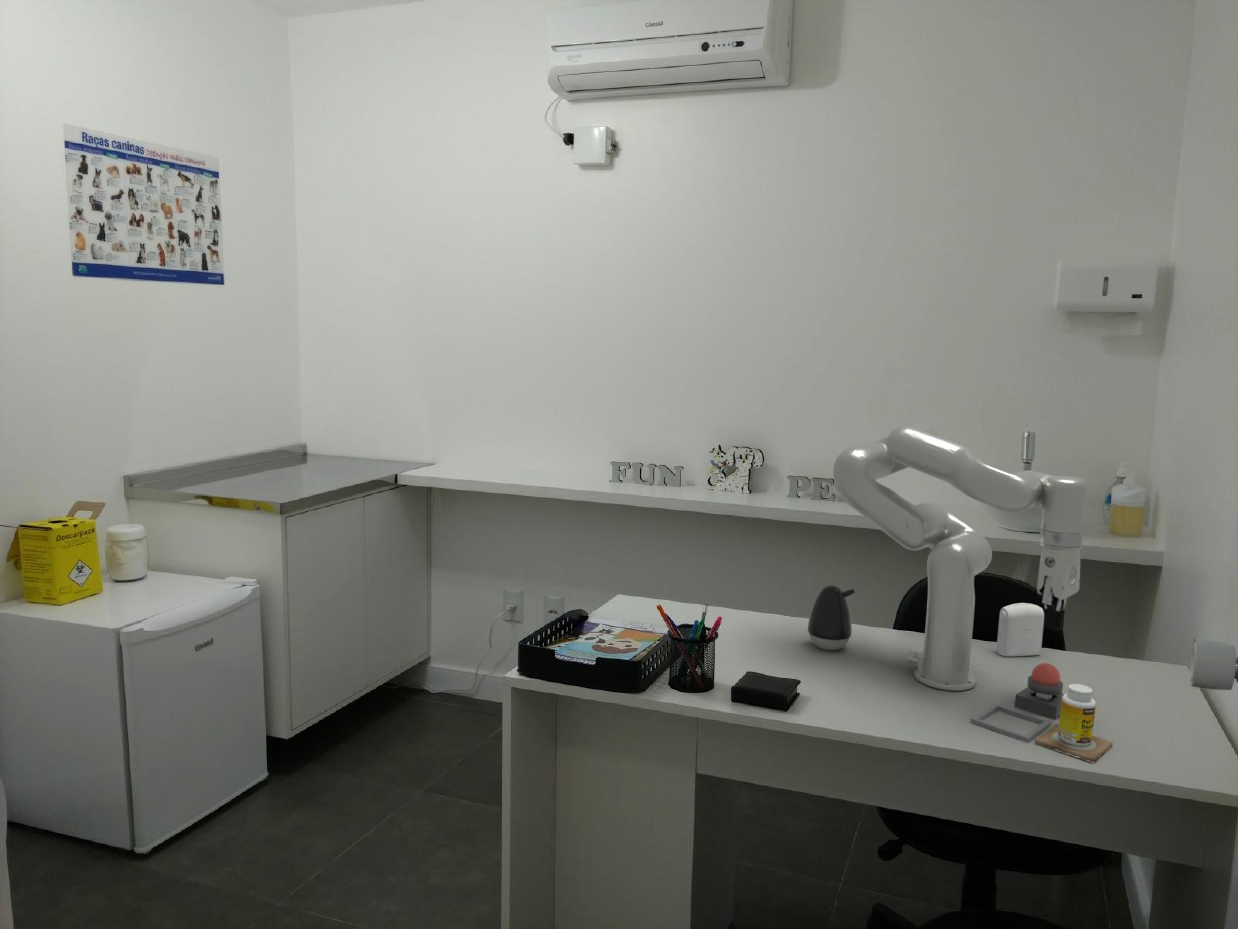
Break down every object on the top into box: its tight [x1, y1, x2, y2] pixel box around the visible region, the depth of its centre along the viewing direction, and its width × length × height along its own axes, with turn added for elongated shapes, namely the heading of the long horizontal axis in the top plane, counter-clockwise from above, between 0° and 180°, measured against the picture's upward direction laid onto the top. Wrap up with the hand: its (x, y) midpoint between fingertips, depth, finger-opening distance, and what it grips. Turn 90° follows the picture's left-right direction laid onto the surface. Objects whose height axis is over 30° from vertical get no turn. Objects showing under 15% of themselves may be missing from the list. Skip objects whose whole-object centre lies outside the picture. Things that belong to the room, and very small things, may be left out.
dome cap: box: [1026, 662, 1064, 701], centre depth 179 cm, size 6×6×8 cm
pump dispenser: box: [807, 584, 856, 651], centre depth 210 cm, size 10×10×15 cm
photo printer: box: [996, 602, 1045, 657], centre depth 208 cm, size 10×4×12 cm, turn 99°
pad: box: [1034, 723, 1114, 763], centre depth 163 cm, size 10×10×1 cm
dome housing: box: [1014, 686, 1065, 720], centre depth 179 cm, size 8×8×2 cm
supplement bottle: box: [1058, 683, 1097, 746], centre depth 162 cm, size 6×6×10 cm
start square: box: [970, 702, 1053, 743], centre depth 171 cm, size 11×11×1 cm
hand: (1053, 628), depth 177 cm, fingers closed
